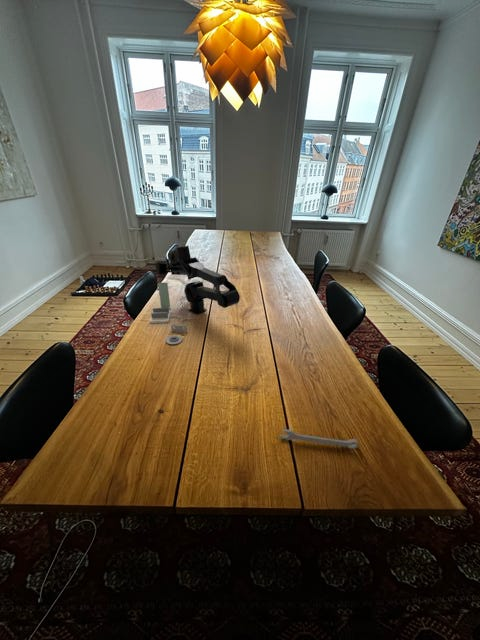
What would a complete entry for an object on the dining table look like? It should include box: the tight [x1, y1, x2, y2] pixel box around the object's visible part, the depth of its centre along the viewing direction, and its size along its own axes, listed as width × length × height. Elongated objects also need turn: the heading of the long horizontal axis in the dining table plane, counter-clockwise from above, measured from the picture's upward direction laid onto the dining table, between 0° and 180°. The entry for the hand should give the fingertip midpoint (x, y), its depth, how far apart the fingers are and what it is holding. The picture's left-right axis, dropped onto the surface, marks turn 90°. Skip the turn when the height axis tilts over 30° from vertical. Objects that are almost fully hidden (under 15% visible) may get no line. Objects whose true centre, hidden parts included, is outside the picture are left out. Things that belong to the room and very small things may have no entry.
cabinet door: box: [156, 282, 171, 309], centre depth 124 cm, size 5×2×12 cm, turn 98°
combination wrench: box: [278, 429, 359, 449], centre depth 66 cm, size 4×1×20 cm
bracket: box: [165, 324, 188, 345], centre depth 104 cm, size 7×10×3 cm, turn 174°
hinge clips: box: [149, 307, 172, 324], centre depth 117 cm, size 8×10×4 cm
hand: (164, 268), depth 132 cm, fingers open, 9 cm apart
